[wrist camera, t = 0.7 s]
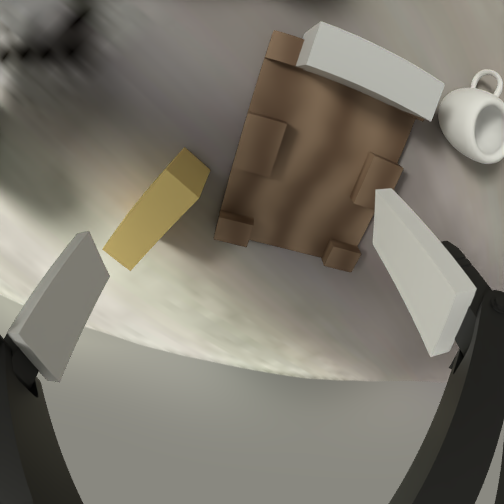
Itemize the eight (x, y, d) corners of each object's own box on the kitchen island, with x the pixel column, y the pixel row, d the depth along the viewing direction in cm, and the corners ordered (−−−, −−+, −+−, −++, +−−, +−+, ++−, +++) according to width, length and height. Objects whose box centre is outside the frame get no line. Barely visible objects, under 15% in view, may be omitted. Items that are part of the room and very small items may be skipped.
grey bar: (293, 66, 26) (306, 64, 19) (304, 33, 24) (321, 21, 17) (394, 107, 28) (431, 121, 21) (405, 77, 26) (444, 83, 19)
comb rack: (215, 228, 38) (213, 239, 35) (272, 33, 25) (274, 30, 23) (346, 260, 40) (351, 272, 38) (420, 95, 27) (431, 98, 25)
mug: (463, 157, 31) (499, 180, 25) (419, 128, 30) (455, 146, 23) (493, 85, 25) (533, 96, 18) (451, 48, 23) (491, 51, 17)
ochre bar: (149, 233, 38) (130, 271, 32) (126, 214, 37) (102, 249, 30) (210, 169, 34) (199, 198, 27) (184, 147, 32) (166, 169, 25)
